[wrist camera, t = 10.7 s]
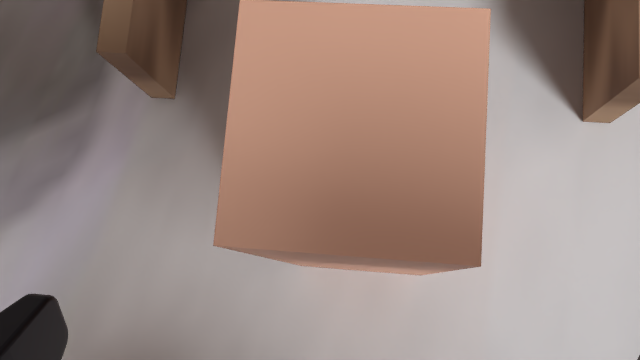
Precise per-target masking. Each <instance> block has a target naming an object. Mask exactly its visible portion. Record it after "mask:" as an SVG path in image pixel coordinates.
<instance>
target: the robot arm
mask: <svg viewBox="0 0 640 360" xmlns="http://www.w3.org/2000/svg"><path fill="white" fill-rule="evenodd" d="M67 340H68V329H67V325H66V323H65V320H64V317H63V315H62V312H61V309H60V306H59V304H58V301H57V299H56V298H55V297H53V296H51V295H42V294H28V295H26V296H24V297H22V298H21V299H19V300H18V301H16V302H15V303H13V304H12V305H10V306H9V307H8V308H6V309H5V310H3V311H2V312H0V360H61V359H62V356H63V353H64V350H65V348H66V345H67ZM637 360H640V355H639V357H638V359H637Z"/></svg>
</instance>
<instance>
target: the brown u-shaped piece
mask: <svg viewBox="0 0 640 360" xmlns="http://www.w3.org/2000/svg"><path fill="white" fill-rule="evenodd" d="M186 5H187V0H104V3H103V9H102V16H101V23H100V30H99V36H98V43H97V50H96V52H97V53H98V54H100V55H101V56H102V57H103V58H104V59H106V60H107V61H108V62H109V63H110V64H112V65H113V66H114V67H115V68H116V69H118V70H119V71H120V72H121V73H122V74H124V75H125V76H126V77H127V78H128V79H130V80H131V81H132V82H133V83H134V84H136V85H137V86H138V87H139V88H140V89H142V90H143V91H144V92H145V93H146V94H148V95H149V96H150V97H154V98H172V99H175V93H176V85H177V77H178V69H179V61H180V53H181V45H182V37H183V29H184V21H185V13H186ZM639 103H640V0H584V64H583V122H600V123H611V122H612V121H614V120H615V119H617V118H618V117H620V116H621V115H623V114H624V113H626V112H627V111H629V110H630V109H632V108H633V107H635V106H636V105H638V104H639Z"/></svg>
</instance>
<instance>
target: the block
mask: <svg viewBox="0 0 640 360" xmlns="http://www.w3.org/2000/svg"><path fill="white" fill-rule="evenodd" d="M490 15H491V9H484V8H456V7H429V6H402V5H375V4H348V3H321V2H294V1H267V0H240V3H239V12H238V21H237V31H236V40H235V49H234V59H233V68H232V77H231V86H230V96H229V105H228V114H227V123H226V133H225V142H224V151H223V161H222V170H221V179H220V188H219V198H218V207H217V216H216V225H215V235H214V244H213V246H217V247H222V248H226V249H230V250H235V251H239V252H243V253H248V254H252V255H256V256H261V257H265V258H270V259H274V260H278V261H283V262H287V263H291V264H296V265H300V266H310V267H323V268H335V269H348V270H360V271H373V272H385V273H398V274H410V275H426V274H433V273H440V272H446V271H453V270H460V269H467V268H473V267H480V266H481V250H482V224H483V198H484V172H485V145H486V119H487V93H488V67H489V41H490Z"/></svg>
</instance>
